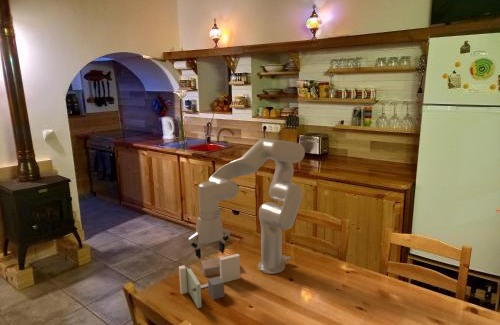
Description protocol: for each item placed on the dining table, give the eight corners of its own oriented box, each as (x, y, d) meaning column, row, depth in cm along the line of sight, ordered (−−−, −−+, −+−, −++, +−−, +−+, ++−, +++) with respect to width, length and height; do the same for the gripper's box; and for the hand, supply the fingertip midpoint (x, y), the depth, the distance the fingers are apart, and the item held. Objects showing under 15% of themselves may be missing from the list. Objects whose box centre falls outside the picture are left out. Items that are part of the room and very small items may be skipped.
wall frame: (238, 275, 162) (237, 252, 160) (240, 278, 160) (239, 254, 158) (180, 291, 151) (178, 266, 149) (181, 294, 149) (180, 269, 146)
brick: (204, 277, 162) (204, 268, 161) (200, 268, 170) (200, 259, 169) (239, 270, 168) (239, 261, 166) (234, 262, 175) (234, 253, 174)
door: (201, 307, 140) (200, 283, 137) (194, 309, 138) (193, 285, 136) (190, 287, 153) (189, 266, 150) (184, 289, 152) (182, 267, 149)
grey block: (219, 290, 152) (219, 276, 150) (224, 296, 147) (223, 282, 146) (208, 293, 150) (208, 279, 148) (212, 299, 145) (212, 285, 144)
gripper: (226, 207, 146) (226, 246, 150) (184, 214, 139) (186, 255, 143) (233, 213, 140) (234, 253, 144) (190, 221, 133) (192, 263, 136)
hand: (210, 254), depth 143 cm, fingers open, 9 cm apart
